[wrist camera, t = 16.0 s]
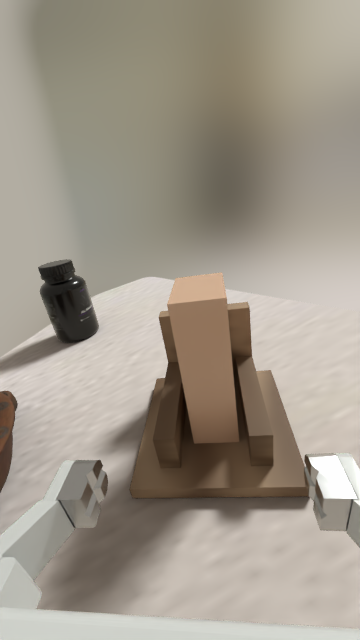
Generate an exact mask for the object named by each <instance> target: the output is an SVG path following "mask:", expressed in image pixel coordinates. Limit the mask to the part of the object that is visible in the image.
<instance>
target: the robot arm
mask: <svg viewBox="0 0 360 640" xmlns="http://www.w3.org/2000/svg"><path fill="white" fill-rule="evenodd" d="M305 463H306V467H305V468H304V480H305V485H306V489H307V492H308V495H309V497H310V498H311V499H312V500H313V501H314V506H313V511H314V513H315V516H316V519H317V522H318V525H319V528H320V530H326V531H347V534H348V535H349V536H350V537H351V538H352V539H353V541H354V542H355V543H356V544H357V545H358V546H359V547H360V469H359V467H358V466H357V464H356V462H355V460H354V458H353V456H352V455H351V454H350V453H338V454H334V453H325V454H306V455H305ZM102 466H103V465H102V463H101V461H100V460H67V461H64V462H63V463H62V464H61V466H60V468H59V470H58V471H57V473H56V475H55V477H54V479H53V481H52V483H51V485H50V487H49V489H48V491H47V493H46V495H45V496H44V498H43V500H40V501H38V502H37V503H36V504H35V505H34V506H32V507H31V508H30V509H29V510H28V511H27V512H26V513H25V514H23V515H22V516H21V517H20V518H19V519H18V520H17V521H16V522H14V523H13V524H12V525H11V526H10V527H9V528H8V529H7V530H6V531H4V532H3V533H2V534H1V535H0V640H360V629H358V628H341V627H325V626H308V625H291V624H275V623H258V622H242V621H225V620H209V619H192V618H175V617H159V616H142V615H126V614H109V613H92V612H76V611H59V610H42V609H37V606H38V603H39V601H40V598H41V596H42V592H41V589H40V588H39V587H38V586H37V584H36V583H35V582H34V580H35V578H36V577H37V576H38V575H39V573H40V572H41V571H42V570H43V568H44V567H45V566H46V565H47V563H48V562H49V561H50V560H51V558H52V557H53V556H54V555H55V553H56V552H57V551H58V550H59V548H60V547H61V546H62V545H63V543H64V542H65V541H66V540H67V538H68V537H69V536H70V535H71V534H72V532H73V531H74V530H75V529H74V528H95V526H96V523H97V520H98V517H99V514H100V511H101V508H100V504H99V503H100V502H101V501H102V500H103V499H104V498H105V495H106V492H107V486H108V478H107V474H106V472H104V471H103V470H102Z"/></svg>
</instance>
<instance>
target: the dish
mask: <svg viewBox="0 0 360 640" xmlns="http://www.w3.org/2000/svg"><path fill="white" fill-rule="evenodd" d="M17 405H18V404H17V401H16V399H15V397H14V396H13V394H12V393H11V392H9V391H1V392H0V492H1V490H2V488H3V486H4V484H5V482H6V479H7V476H8V473H9V469H10V465H11V459H12V445H13V436H12V430H13V426H14V421H15V411H16V409H17Z"/></svg>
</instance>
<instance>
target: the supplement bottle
mask: <svg viewBox="0 0 360 640" xmlns="http://www.w3.org/2000/svg"><path fill="white" fill-rule="evenodd" d="M38 268H39V272H40V274H41V279H42V280H44V281H45V283H44V284H43V285H42V286H41V289H40V294H41V297H42V300H43V302H44V305H45V307H46V310H47V312H48V315H49V318H50V320H51V323H52V325H53V328H54V330H55V333H56V335H57V338H58V339H59V340H60V341H62V342H67V343H70V342H77V341H80V340H83V339H86V338H88V337H90V336H92V335H93V334H94V333H96V332H97V330H98V328H99V325H98V321H97V317H96V314H95V311H94V308H93V305H92V301H91V298H90V295H89V292H88V289H87V286H86V283H85V281H84V280H83V278H81V277H79V276H77V275H75V274H74V272H75V268H74V267H73V264H72V261H71V260H60V261H54V262H50V263H47V264H44V265H41V266H40V267H38Z"/></svg>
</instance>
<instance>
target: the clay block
mask: <svg viewBox="0 0 360 640" xmlns="http://www.w3.org/2000/svg"><path fill="white" fill-rule="evenodd" d="M167 306H168V311H169V316H170V321H171V326H172V332H173V337H174V342H175V347H176V352H177V357H178V363H179V368H180V373H181V378H182V383H183V389H184V394H185V399H186V404H187V409H188V414H189V420H190V425H191V430H192V435H193V440H194V444H198V443H226V442H239V433H238V421H237V410H236V399H235V388H234V376H233V365H232V354H231V342H230V331H229V320H228V309H227V297H226V292H225V287H224V281H223V275H222V273H213V274H206V275H198V276H190V277H182V278H176V279H175V282H174V285H173V288H172V291H171V294H170V297H169V301H168V304H167Z"/></svg>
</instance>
